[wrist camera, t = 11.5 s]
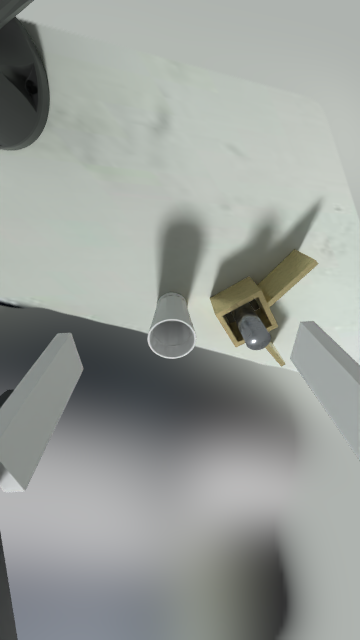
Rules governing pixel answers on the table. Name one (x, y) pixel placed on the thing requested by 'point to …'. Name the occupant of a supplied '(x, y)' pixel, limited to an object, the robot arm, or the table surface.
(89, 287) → the table surface
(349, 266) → the table surface
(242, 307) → the pin
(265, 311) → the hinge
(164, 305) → the cup
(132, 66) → the table surface
